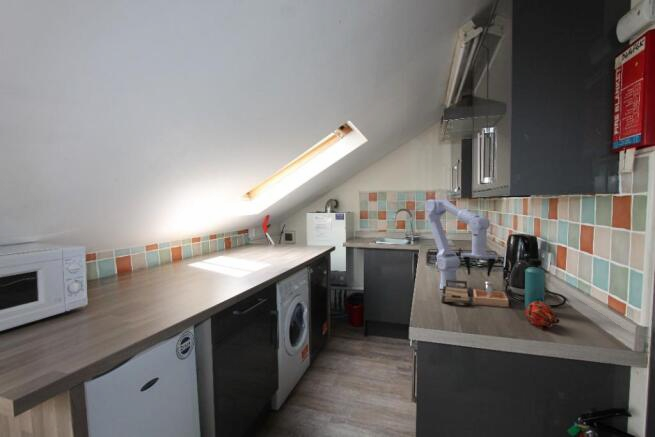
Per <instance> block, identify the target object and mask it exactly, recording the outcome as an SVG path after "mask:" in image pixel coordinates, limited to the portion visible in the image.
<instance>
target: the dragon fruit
mask: <svg viewBox="0 0 655 437" xmlns="http://www.w3.org/2000/svg"><path fill="white" fill-rule="evenodd" d="M524 313H525V314H526V320H527V322H528V323H532V324H533V325H534V326H535V327H536V328H538V329H544V326H545V327H548V328H551V327H553V326H554V324H559V323H560V320H561V319H559V318H558V317H557V316H556V313H555V311H554V310H552V306H551V305H549V304H546V303H545V302H544V303H543V302H539V301H538V302H533V303H531V304H529V306H528V307H525V312H524Z"/></svg>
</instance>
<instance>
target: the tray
mask: <svg viewBox="0 0 655 437" xmlns="http://www.w3.org/2000/svg"><path fill="white" fill-rule="evenodd" d="M472 291H473V292H472V293H473V301H474V305H475V306H477V305H478V306H489V307H497V308H498V307H500V308H507V309H508V308H509V299H508V296H507V294H506V293H505V291H499V290H492V298H486V289H485V290H484V289H475V288H473V290H472Z"/></svg>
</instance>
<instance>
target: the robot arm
mask: <svg viewBox="0 0 655 437" xmlns="http://www.w3.org/2000/svg"><path fill="white" fill-rule="evenodd" d="M424 209H425V211H426V215H427V220H428V225H429V228H430V230H431V233H432V235H433V238H434V242H435V245H436V247H437V249H438V250H437V251H438V253H437V254H436V262H437V267H438V269H439V271H440V284H439V290H443V286H446V280H457V274H458V273H457V271H458V268H459V267H460V265H461V260H460V258H461V259H463V262H464V264H465V266H466V269H467V274H468V276H470V275H471V268H470V267H471V259H475V260H476V259H477V260H487V277H490V275H491V272H492V269H493V268H494V265H495V263H496V261H498V260H499V255H498V254H491V253H487V245H488V244H487V242H488V241H487V239H488V238H487V237H488V234H487V233H488V229H489V227H490V225H491V222H490V219H489V218H488V217H487V216H486V215H484V216H480V214H478V213H474V212H473V211H471V209H470V208H463V209H461V208H459V207H458V206H456V205H455V204H453V203H451V202H450V201H449V200H447V199H445V198H443V199H442V198H441V199H428V200H427V201H426V204H425V205H424ZM446 212H448V213H451V214H452V215H455V216H456V217H457V219H458V220H459V221H461V222H462V223H465V224H466V225H467V226H469V228H470V230H471V231H470V232H471V237H472V238H471V252H469V253H468V252H461V253H460V257H459V256H457V253H456V252H455V251H454V250H452V249H451V247H450V244H449V241H448V238H447V236H446V233H445V230H444V228H443V225H442V222H441V218H442V217H443V216H444V214H445V213H446ZM448 286H454V287H458V283H450V282H448Z"/></svg>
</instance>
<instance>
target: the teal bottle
mask: <svg viewBox="0 0 655 437" xmlns="http://www.w3.org/2000/svg"><path fill="white" fill-rule="evenodd" d="M528 264H529V265H533V267H529V268H527V269H526V270H525V296H524V303H523V304H524V306H525V308H527V307H528V306H529V304H531V303H533V302H538V301H539V302H543V303H544V304H545V302H546V298H545V294H546V293H545V286H546V279H545V277H546V276H545V274H546V272H545V270H544V269H542V268H541V267H542V260H541V259H539V258H529V259H528ZM540 266H541V267H540Z"/></svg>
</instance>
